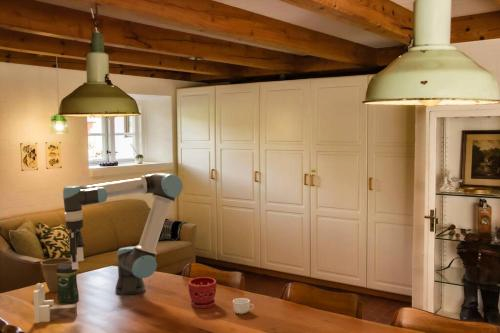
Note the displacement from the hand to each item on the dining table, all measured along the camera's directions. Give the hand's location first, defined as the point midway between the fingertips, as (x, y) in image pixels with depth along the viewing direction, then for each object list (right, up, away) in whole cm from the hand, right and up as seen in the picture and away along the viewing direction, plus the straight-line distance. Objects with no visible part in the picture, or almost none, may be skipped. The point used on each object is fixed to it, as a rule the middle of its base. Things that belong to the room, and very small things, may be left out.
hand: (78, 264), depth 235 cm
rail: (-6, -23, -6) cm, 24 cm away
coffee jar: (-10, -21, +17) cm, 29 cm away
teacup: (+77, -21, -5) cm, 80 cm away
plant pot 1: (-23, -20, +34) cm, 46 cm away
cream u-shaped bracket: (-13, -23, -7) cm, 27 cm away
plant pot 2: (+57, -21, +6) cm, 61 cm away
